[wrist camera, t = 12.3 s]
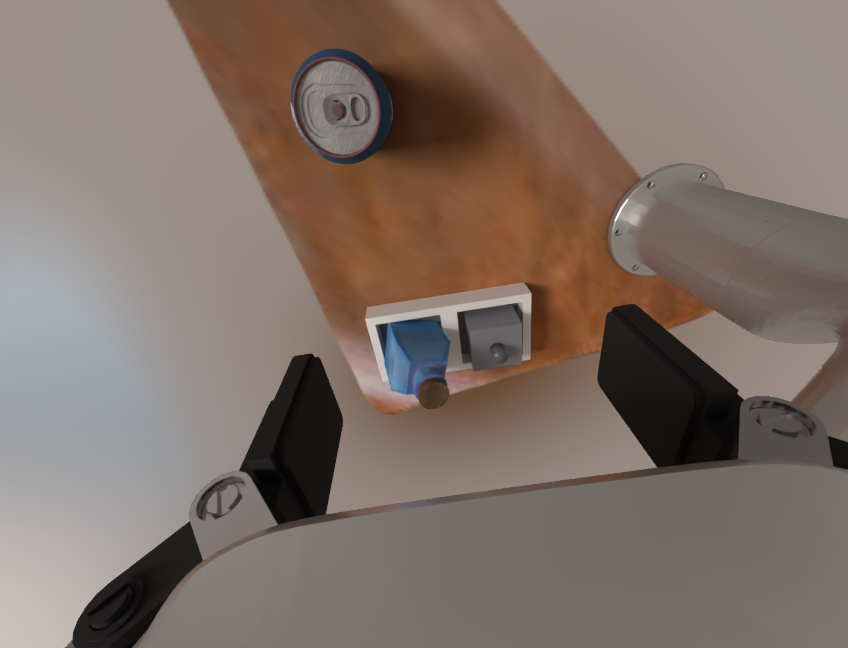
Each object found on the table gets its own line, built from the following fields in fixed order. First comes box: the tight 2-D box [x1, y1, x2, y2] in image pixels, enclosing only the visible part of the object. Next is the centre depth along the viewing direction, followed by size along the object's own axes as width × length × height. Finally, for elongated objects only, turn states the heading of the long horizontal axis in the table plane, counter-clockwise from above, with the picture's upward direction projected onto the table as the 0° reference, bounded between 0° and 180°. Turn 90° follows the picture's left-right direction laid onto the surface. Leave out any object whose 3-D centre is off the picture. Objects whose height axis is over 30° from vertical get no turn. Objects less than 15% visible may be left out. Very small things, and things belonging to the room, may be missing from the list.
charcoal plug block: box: [464, 304, 522, 371], centre depth 43 cm, size 6×6×7 cm
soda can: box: [291, 49, 393, 164], centre depth 28 cm, size 7×7×12 cm
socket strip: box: [365, 282, 531, 382], centre depth 45 cm, size 20×10×3 cm, turn 99°
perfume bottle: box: [384, 320, 451, 409], centre depth 40 cm, size 6×6×12 cm
